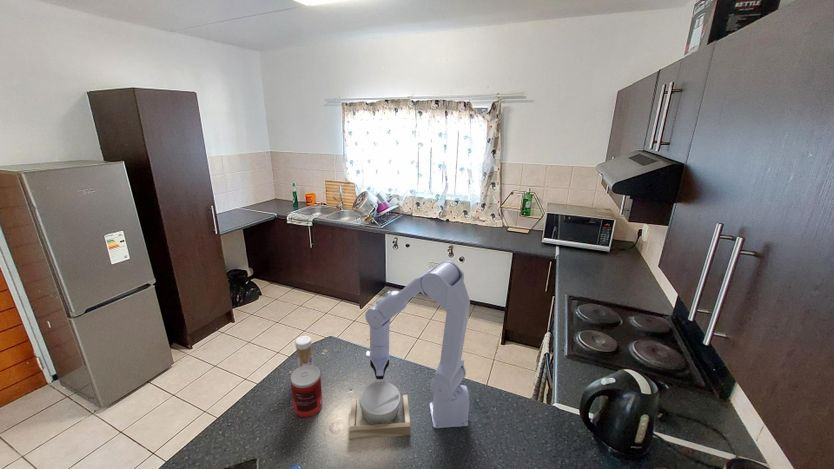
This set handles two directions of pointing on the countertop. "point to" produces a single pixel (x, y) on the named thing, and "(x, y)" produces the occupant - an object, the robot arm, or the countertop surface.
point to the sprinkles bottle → (304, 351)
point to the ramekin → (380, 402)
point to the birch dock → (379, 425)
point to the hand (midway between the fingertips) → (379, 377)
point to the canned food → (306, 390)
